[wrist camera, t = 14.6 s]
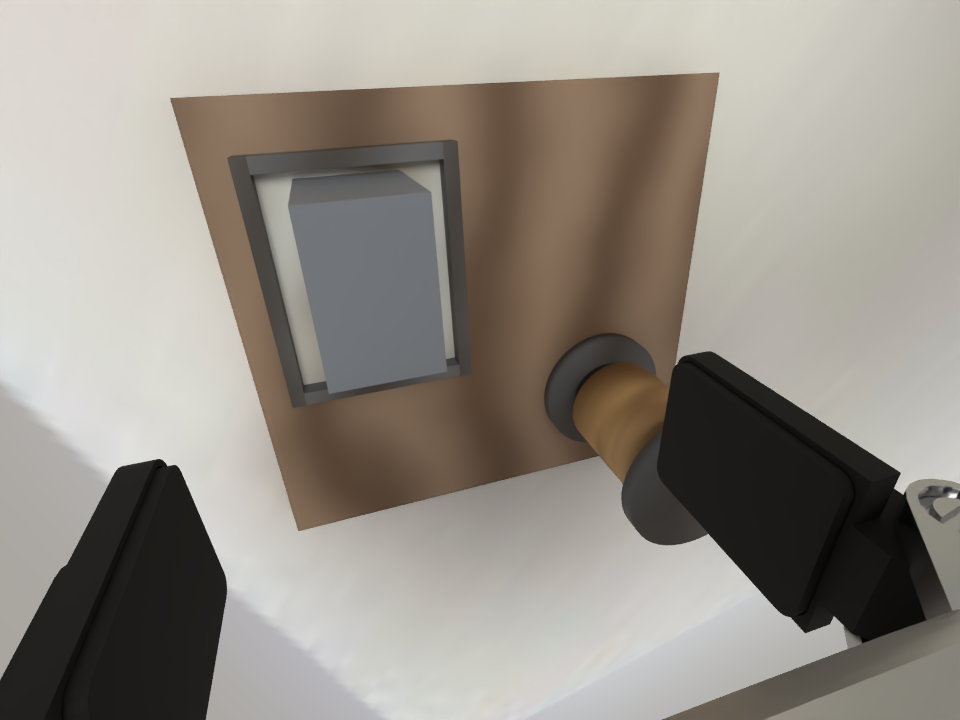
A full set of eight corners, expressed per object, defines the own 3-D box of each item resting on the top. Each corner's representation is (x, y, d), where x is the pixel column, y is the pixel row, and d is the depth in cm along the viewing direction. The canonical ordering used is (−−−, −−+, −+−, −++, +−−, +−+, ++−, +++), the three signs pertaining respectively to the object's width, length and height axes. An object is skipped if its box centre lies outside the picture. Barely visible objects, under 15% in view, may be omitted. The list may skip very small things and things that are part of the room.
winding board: (696, 74, 23) (924, 56, 15) (649, 426, 33) (772, 540, 24) (179, 98, 18) (65, 92, 10) (298, 511, 27) (295, 696, 19)
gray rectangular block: (398, 169, 20) (431, 191, 15) (414, 311, 23) (446, 371, 17) (292, 178, 19) (288, 205, 14) (323, 325, 22) (328, 393, 16)
